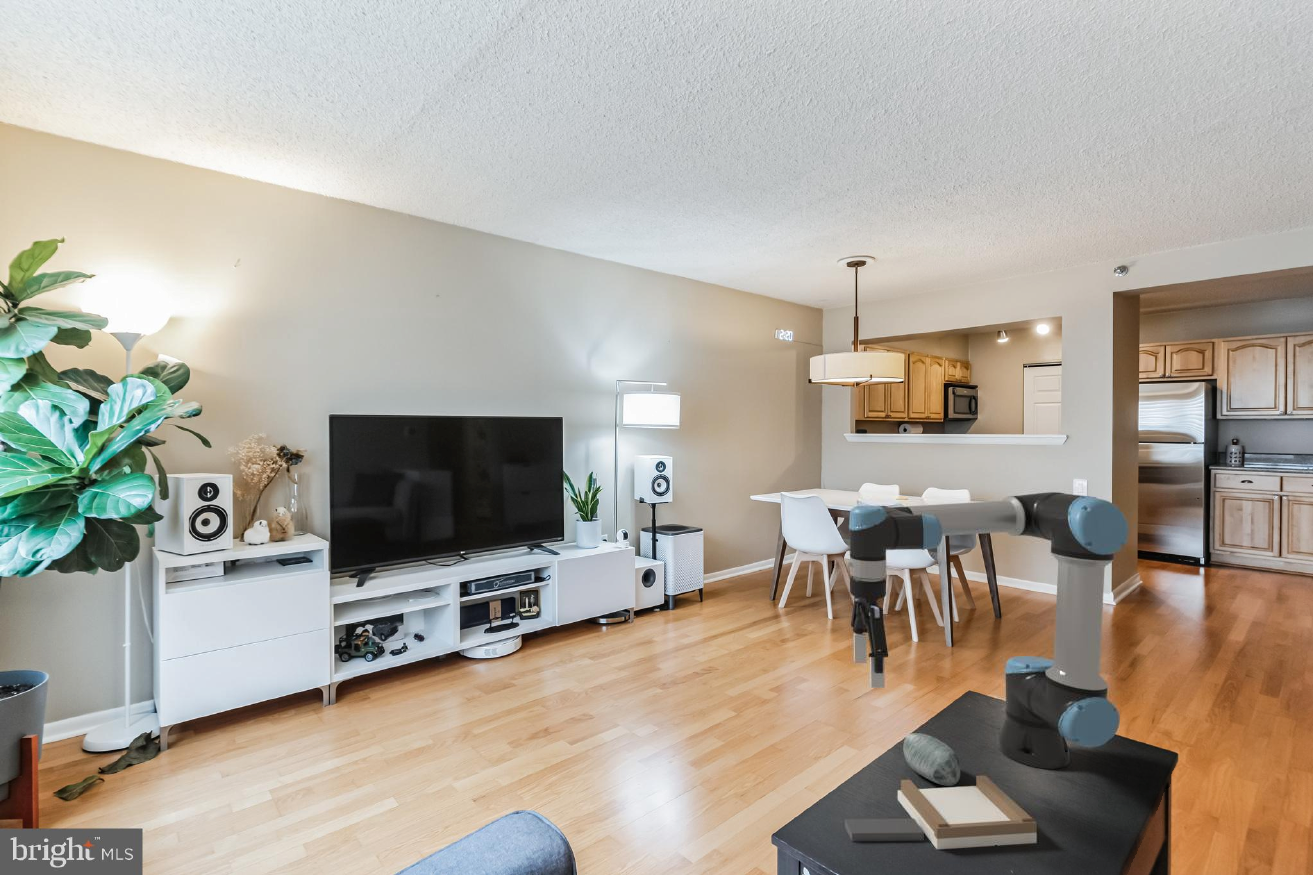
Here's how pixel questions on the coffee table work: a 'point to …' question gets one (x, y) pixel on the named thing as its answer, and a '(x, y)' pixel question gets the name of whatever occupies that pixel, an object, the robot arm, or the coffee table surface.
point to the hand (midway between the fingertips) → (868, 674)
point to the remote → (884, 830)
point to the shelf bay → (968, 815)
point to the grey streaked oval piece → (932, 759)
